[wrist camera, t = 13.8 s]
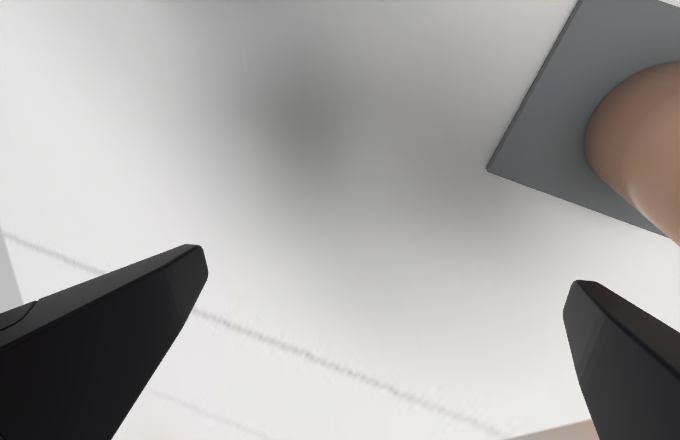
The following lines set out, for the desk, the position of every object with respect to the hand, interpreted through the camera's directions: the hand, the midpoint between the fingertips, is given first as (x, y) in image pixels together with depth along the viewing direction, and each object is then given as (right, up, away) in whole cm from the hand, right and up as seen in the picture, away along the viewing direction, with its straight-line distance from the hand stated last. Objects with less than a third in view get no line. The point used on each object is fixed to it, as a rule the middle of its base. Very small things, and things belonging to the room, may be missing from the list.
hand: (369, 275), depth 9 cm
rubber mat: (+14, +6, +9) cm, 18 cm away
